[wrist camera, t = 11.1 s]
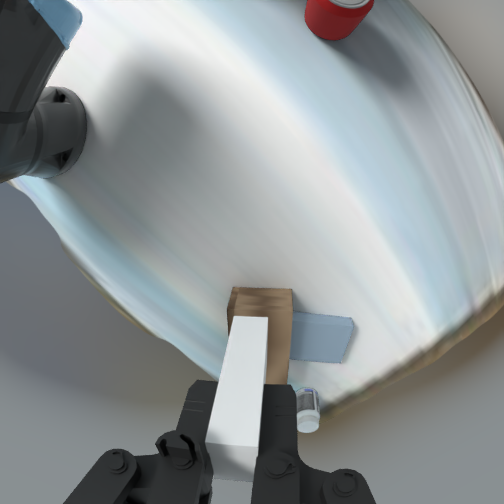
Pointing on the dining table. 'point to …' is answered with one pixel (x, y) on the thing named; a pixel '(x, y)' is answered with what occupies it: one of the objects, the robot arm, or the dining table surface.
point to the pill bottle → (307, 410)
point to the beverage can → (335, 16)
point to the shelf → (279, 324)
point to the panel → (319, 337)
